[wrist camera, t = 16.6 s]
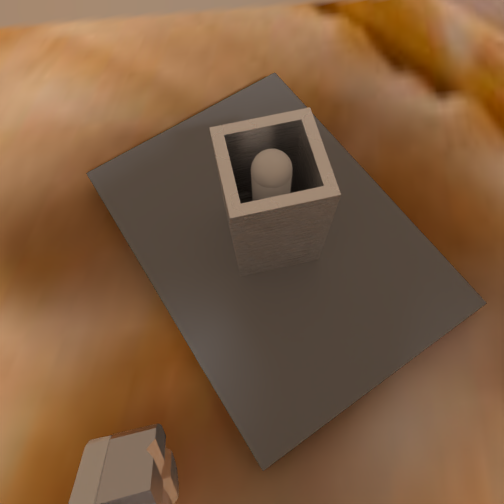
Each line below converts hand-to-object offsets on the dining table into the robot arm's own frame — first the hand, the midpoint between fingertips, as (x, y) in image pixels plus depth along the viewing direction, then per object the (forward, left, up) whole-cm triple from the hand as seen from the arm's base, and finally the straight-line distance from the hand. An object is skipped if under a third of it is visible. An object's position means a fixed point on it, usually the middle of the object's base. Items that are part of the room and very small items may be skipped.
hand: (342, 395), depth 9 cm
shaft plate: (+9, -5, -15) cm, 19 cm away
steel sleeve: (+9, -5, -14) cm, 17 cm away
